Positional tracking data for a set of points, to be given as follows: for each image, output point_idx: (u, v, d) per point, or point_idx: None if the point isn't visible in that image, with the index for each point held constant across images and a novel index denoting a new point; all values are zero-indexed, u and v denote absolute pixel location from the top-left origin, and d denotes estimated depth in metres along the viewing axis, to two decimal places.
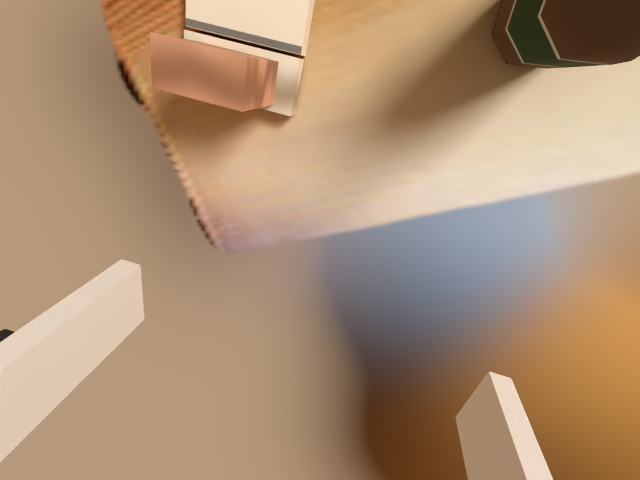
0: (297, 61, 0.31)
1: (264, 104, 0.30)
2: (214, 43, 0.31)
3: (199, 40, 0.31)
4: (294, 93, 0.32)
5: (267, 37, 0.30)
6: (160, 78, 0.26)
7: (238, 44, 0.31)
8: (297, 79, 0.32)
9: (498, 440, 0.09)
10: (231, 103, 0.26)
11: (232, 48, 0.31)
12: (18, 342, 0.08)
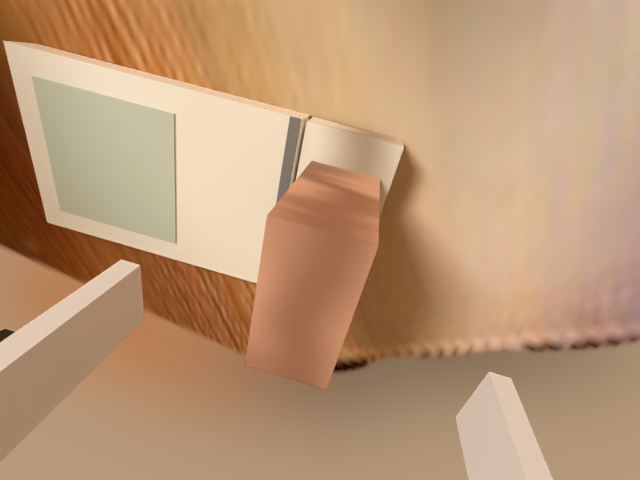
0: (311, 125, 0.17)
1: (375, 193, 0.15)
2: None
3: None
4: (363, 135, 0.17)
5: (279, 176, 0.19)
6: (311, 374, 0.14)
7: None
8: (341, 128, 0.17)
9: (498, 440, 0.09)
10: (359, 266, 0.11)
11: None
12: (18, 342, 0.08)
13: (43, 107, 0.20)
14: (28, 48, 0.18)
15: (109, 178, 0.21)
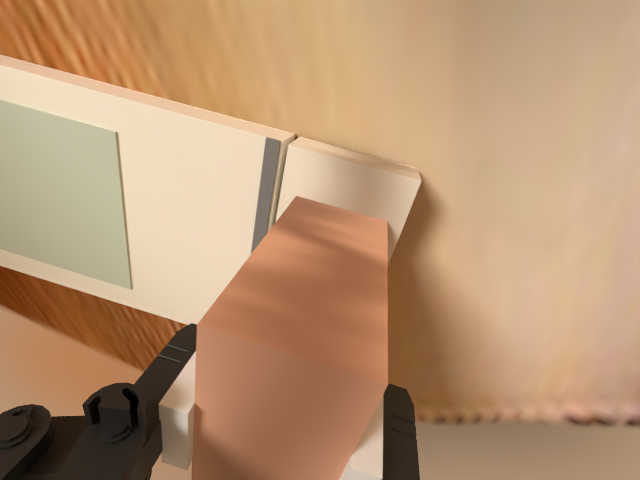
0: (294, 150, 0.12)
1: (381, 251, 0.11)
2: None
3: None
4: (366, 164, 0.13)
5: (255, 213, 0.14)
6: None
7: None
8: (335, 153, 0.13)
9: None
10: (354, 408, 0.07)
11: None
12: None
13: None
14: None
15: (44, 210, 0.17)
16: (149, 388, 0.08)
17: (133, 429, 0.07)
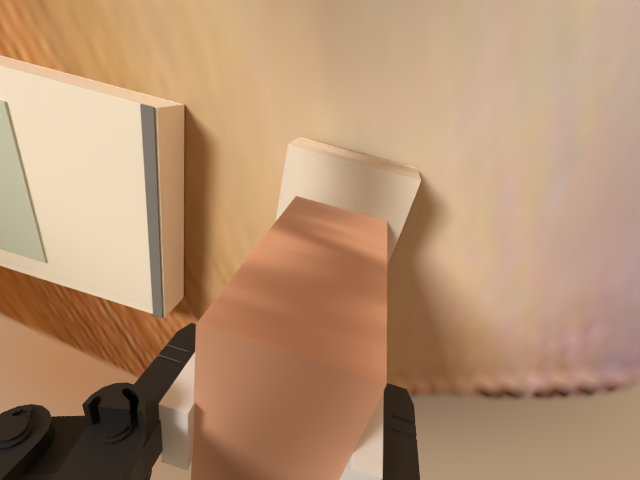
0: (294, 150, 0.13)
1: (381, 251, 0.11)
2: None
3: None
4: (365, 164, 0.13)
5: (144, 182, 0.15)
6: None
7: None
8: (335, 154, 0.13)
9: None
10: (353, 407, 0.07)
11: None
12: None
13: None
14: None
15: None
16: (149, 389, 0.08)
17: (133, 429, 0.07)
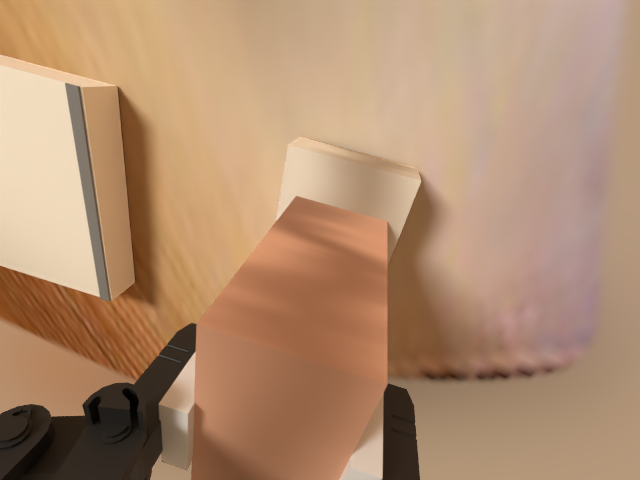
0: (294, 150, 0.12)
1: (381, 251, 0.11)
2: None
3: None
4: (366, 164, 0.13)
5: (77, 162, 0.15)
6: None
7: None
8: (335, 154, 0.13)
9: None
10: (354, 408, 0.07)
11: None
12: None
13: None
14: None
15: None
16: (149, 388, 0.08)
17: (133, 429, 0.07)
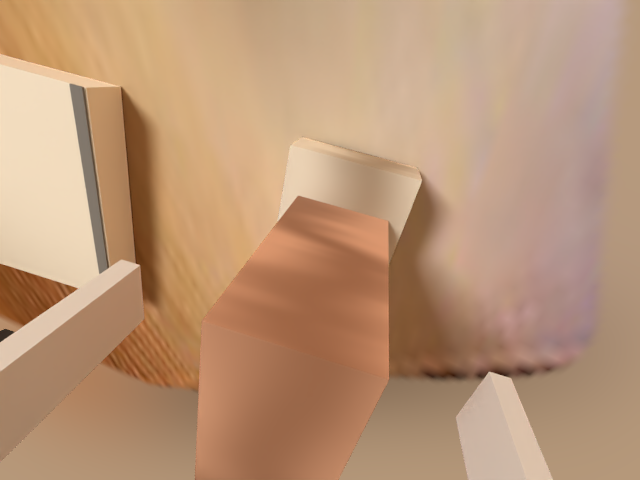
0: (296, 150, 0.13)
1: (382, 250, 0.11)
2: None
3: None
4: (367, 164, 0.13)
5: (81, 162, 0.15)
6: None
7: None
8: (337, 154, 0.13)
9: (498, 440, 0.09)
10: (357, 403, 0.07)
11: None
12: (18, 342, 0.08)
13: None
14: None
15: None
16: None
17: None
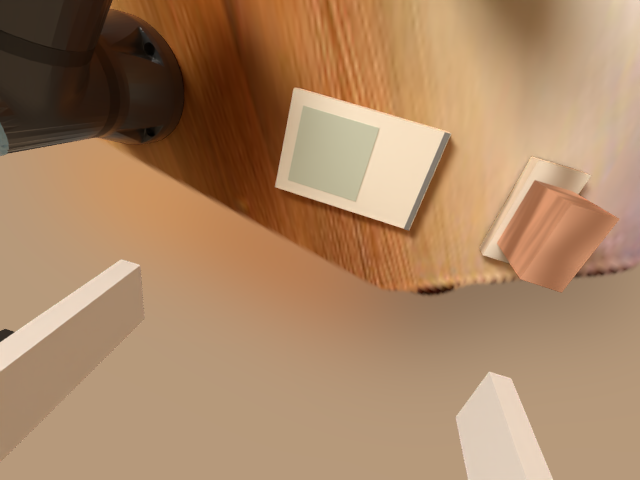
0: (540, 162, 0.33)
1: (583, 198, 0.31)
2: (500, 233, 0.37)
3: (494, 245, 0.38)
4: (568, 168, 0.33)
5: (431, 163, 0.35)
6: (556, 283, 0.30)
7: (508, 213, 0.36)
8: (554, 164, 0.33)
9: (498, 440, 0.09)
10: (606, 227, 0.27)
11: (509, 219, 0.36)
12: (18, 342, 0.08)
13: (302, 121, 0.37)
14: (306, 92, 0.35)
15: (326, 162, 0.38)
16: None
17: None
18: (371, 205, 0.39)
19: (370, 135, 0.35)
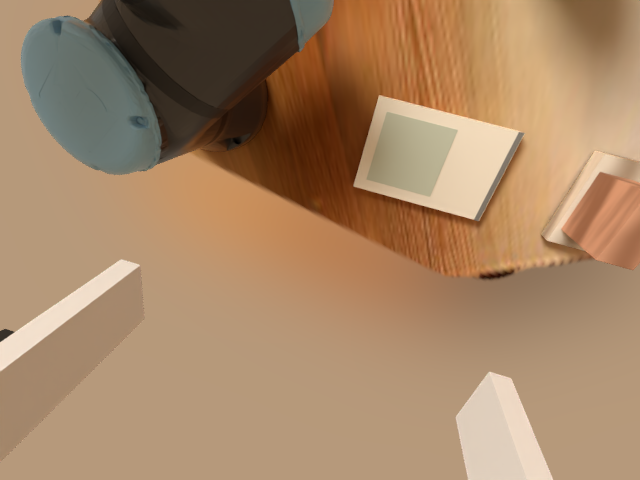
0: (606, 155, 0.37)
1: None
2: (565, 220, 0.41)
3: (558, 231, 0.42)
4: (630, 160, 0.37)
5: (504, 160, 0.39)
6: (629, 262, 0.34)
7: (573, 202, 0.40)
8: (617, 156, 0.37)
9: (498, 440, 0.09)
10: None
11: (574, 207, 0.40)
12: (18, 342, 0.08)
13: (384, 126, 0.40)
14: (391, 99, 0.39)
15: (405, 161, 0.42)
16: None
17: None
18: (444, 199, 0.43)
19: (448, 136, 0.39)
